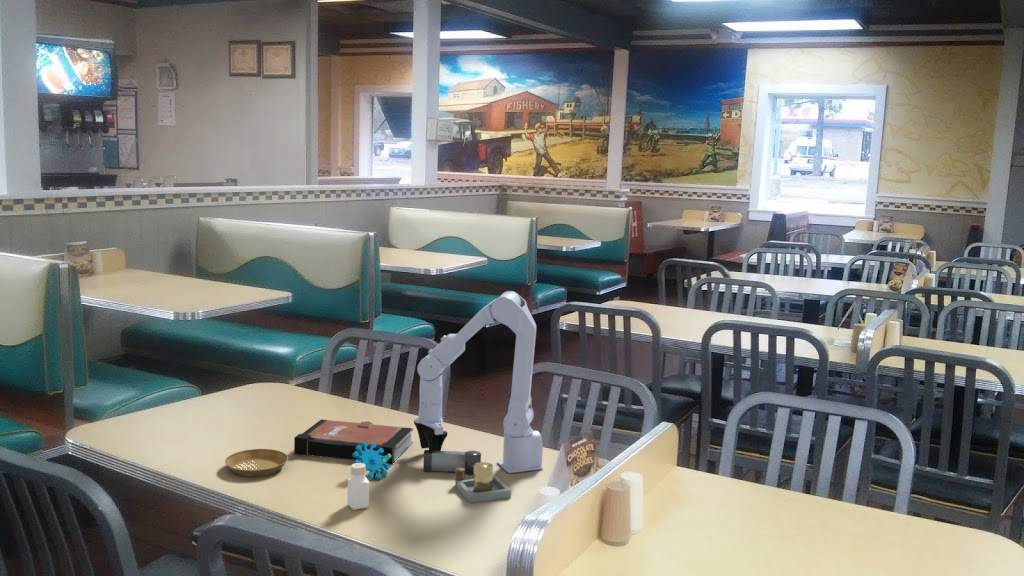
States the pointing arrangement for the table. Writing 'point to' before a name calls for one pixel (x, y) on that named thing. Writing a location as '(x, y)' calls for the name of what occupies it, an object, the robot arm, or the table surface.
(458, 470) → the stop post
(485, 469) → the cylinder
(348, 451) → the book
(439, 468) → the crank
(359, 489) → the salt shaker
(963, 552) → the table surface
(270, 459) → the shallow brown basket
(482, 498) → the tray
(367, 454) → the gear
